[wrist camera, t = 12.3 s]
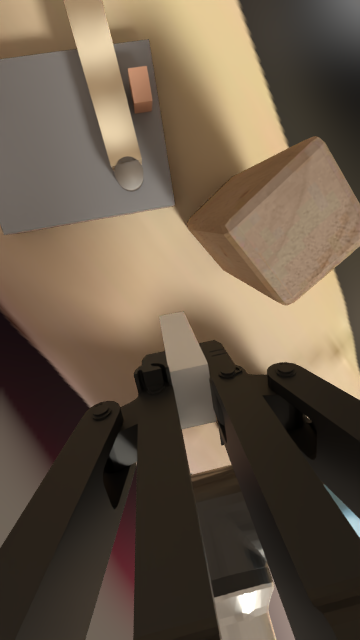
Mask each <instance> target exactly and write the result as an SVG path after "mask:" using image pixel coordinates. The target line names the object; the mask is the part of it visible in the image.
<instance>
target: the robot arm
mask: <svg viewBox="0 0 360 640" xmlns="http://www.w3.org/2000/svg"><path fill="white" fill-rule="evenodd" d="M159 319H160V324H161V330H162V336H163V342H164V347H165V351H164V352H159V353H154V354H149V355H146V356H145V357H144V359H143V360H142V366H140V367H139V368H137V369H136V370H135V372H134V378H135V382H136V385H137V389H138V397H137V398H136V399H135V400H134V401H132V402H131V403H129V404H127V405H124V406H122V407H120V406H119V404H118V403H116V402H114V401H106V402H101V403H99V404H96V405H94V406H93V407H91V408H90V409H88V411H87V412H86V413H85V414H84V415H83V417H82V419H81V420H80V422H79V424H78V425H77V427H76V428H75V430H74V432H73V433H72V434H71V436H70V438H69V439H68V441H67V443H66V444H65V446H64V447H63V449H62V450H61V452H60V454H59V455H58V457H57V459H56V460H55V462H54V463H53V465H52V466H51V468H50V470H49V471H48V473H47V474H46V476H45V478H44V479H43V481H42V482H41V484H40V486H39V487H38V489H37V490H36V492H35V494H34V495H33V497H32V499H31V500H30V502H29V503H28V505H27V506H26V508H25V510H24V511H23V513H22V514H21V516H20V518H19V519H18V521H17V523H16V524H15V526H14V527H13V529H12V530H11V532H10V533H9V535H8V537H7V538H6V540H5V541H4V543H3V545H2V547H1V548H0V640H85V639H86V635H87V631H88V628H89V625H90V621H91V618H92V615H93V611H94V608H95V604H96V601H97V597H98V594H99V591H100V587H101V584H102V581H103V577H104V574H105V571H106V567H107V564H108V560H109V557H110V554H111V550H112V547H113V543H114V540H115V537H116V533H117V530H118V527H119V523H120V520H121V516H122V513H123V509H124V506H125V503H126V499H127V496H128V493H129V489H130V486H131V482H132V479H133V476H134V472H135V469H136V462H137V490H136V492H137V494H136V539H135V540H136V541H135V544H136V545H135V590H134V638H133V640H277V639H276V636H275V633H274V629H273V626H272V622H271V619H270V616H269V612H268V608H269V602H270V599H271V596H272V592H273V589H274V583H273V580H272V577H273V579H274V582H275V585H276V587H277V590H278V593H279V596H280V599H281V601H282V604H283V607H284V609H285V612H286V615H287V618H288V620H289V623H290V626H291V628H292V631H293V634H294V637H295V640H360V400H358V399H357V398H355V397H353V396H351V395H350V394H348V393H346V392H344V391H343V390H341V389H339V388H337V387H336V386H334V385H332V384H330V383H329V382H327V381H325V380H323V379H322V378H320V377H318V376H316V375H315V374H313V373H311V372H309V371H308V370H306V369H304V368H302V367H301V366H299V365H296V364H293V363H287V362H284V363H283V362H282V363H277V364H273V365H272V366H270V367H269V368H268V369H267V375H250V374H247V373H246V371H245V370H244V369H243V368H242V367H240V366H237V365H235V364H234V363H233V361H232V360H231V358H230V356H229V355H228V353H227V352H226V350H225V349H224V347H223V346H222V344H221V343H219V342H217V341H215V340H213V341H208V342H203V343H198V341H197V339H196V337H195V335H194V333H193V330H192V328H191V326H190V324H189V322H188V320H187V317H186V315H185V313H184V311H182V312H177V313H172V314H167V315H162V316H159ZM215 414H216V415H215ZM216 416H217V419H218V425H219V432H220V439H221V445H225V447H226V450H227V453H228V456H229V458H230V461H231V464H232V465H228V466H224V467H221V468H217V469H213V470H209V471H205V472H201V473H197V474H193V475H192V474H190V470H189V465H188V460H187V454H186V449H185V444H184V439H183V434H182V429H185V428H190V427H194V426H199V425H203V424H207V423H212V422H216ZM306 416H307V417H308V418H307V417H306ZM268 566H269V568H270V571H271V574H272V577H271V574H270V571H269V568H268Z"/></svg>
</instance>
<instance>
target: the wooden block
mask: <svg viewBox="0 0 360 640" xmlns="http://www.w3.org/2000/svg"><path fill="white" fill-rule="evenodd" d="M187 226H188V229H189V230H190V231H191V233H192V234H193V235H194V236H195V237H196V238H197V240H198V241H199V242H200V243H201V244H202V246H203V247H204V248H205V249H206V250H207V251H208V253H209V254H210V255H211V256H212V257H213V258H214V260H215V261H216V262H217V263H218V264H219V266H220V267H221V268H222V269H223V270H224V271H226V272H228V273H229V274H231V275H233V276H234V277H236V278H238V279H239V280H241V281H243V282H244V283H246V284H248V285H250V286H251V287H253V288H255V289H256V290H258V291H260V292H261V293H263V294H265V295H267V296H268V297H270V298H272V299H273V300H275V301H277V302H279V303H281V304H283V305H289V304H291V303H294V302H295V301H296V300H298V299H299V298H300V297H301V296H302V295H303V294H305V293H306V292H307V291H308V290H309V289H310V288H312V287H313V286H314V285H315V284H316V283H317V282H319V281H320V280H321V279H322V278H323V277H324V276H326V275H327V274H328V273H329V272H330V271H331V270H333V269H334V268H335V267H336V266H337V265H338V264H340V263H341V262H342V261H343V260H344V259H345V258H346V257H348V256H349V255H350V254H351V253H352V252H353V251H355V250H356V249H357V248H358V247H359V246H360V204H359V202H358V200H357V199H356V197H355V195H354V193H353V191H352V190H351V188H350V186H349V185H348V183H347V181H346V179H345V177H344V175H343V174H342V172H341V170H340V168H339V167H338V165H337V163H336V162H335V160H334V158H333V156H332V154H331V153H330V151H329V149H328V147H327V146H326V144H325V142H324V141H323V140H321V139H320V138H319V137H315V136H314V137H312V138H309V139H306V140H304V141H302V142H300V143H298V144H296V145H294V146H292V147H290V148H288V149H286V150H284V151H282V152H280V153H278V154H276V155H274V156H272V157H270V158H268V159H266V160H265V161H263V162H261V163H259V164H257V165H255V166H253V167H251V168H249V169H247V170H245V171H243V172H241V173H239V174H237V175H235V176H233V177H232V178H231V179H230V180H229V181H228V182H226V183H225V184H224V185H223V186H222V187H221V188H220V189H219V190H218V191H217V192H216V193H215V194H214V195H213V196H212V197H211V198H210V199H209V200H208V201H207V202H206V203H205V204H204V205H203V206H202V207H201V208H200V209H199V210H198V211H197V212H196V213H195V214H194V215H193V216H192V217H191V218H190V219H189V221H188V223H187Z"/></svg>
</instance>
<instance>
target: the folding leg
mask: <svg viewBox="0 0 360 640" xmlns="http://www.w3.org/2000/svg"><path fill="white" fill-rule="evenodd" d="M63 1H64V5H65V8H66V12H67V15H68V18H69V22H70V25H71V29H72V32H73V36H74V39H75V43H76V46H77V50H78V53H79V57H80V60H81V64H82V67H83V71H84V74H85V78H86V81H87V85H88V88H89V92H90V95H91V99H92V102H93V105H94V109H95V112H96V116H97V119H98V123H99V126H100V130H101V133H102V137H103V140H104V144H105V147H106V151H107V154H108V158H109V161H110V165H111V167H112V169H113V171H114V172H115V177H116V179H117V181H118V183H119V184H120V186H121V187H122V188H123V189H124V190H126V191H130V192H133V191H136V190H138V189H139V188H140V187H141V186H142V184H143V174H144V173H143V168H142V158H141V154H140V150H139V146H138V142H137V138H136V134H135V130H134V126H133V122H132V118H131V114H130V110H129V106H128V102H127V98H126V94H125V90H124V86H123V82H122V78H121V74H120V70H119V66H118V62H117V58H116V54H115V50H114V46H113V42H112V38H111V34H110V30H109V26H108V22H107V18H106V14H105V10H104V5H103V1H102V0H63Z"/></svg>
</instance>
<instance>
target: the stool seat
mask: <svg viewBox="0 0 360 640" xmlns="http://www.w3.org/2000/svg"><path fill="white" fill-rule="evenodd" d="M113 46H114V50H115V54H116V58H117V62H118V66H119V70H120V74H121V78H122V82H123V86H124V90H125V94H126V98H127V102H128V106H129V110H130V114H131V118H132V122H133V126H134V130H135V134H136V138H137V142H138V146H139V150H140V154H141V158H142V168H143V173H144V174H143V184H142V186H141V187H140V188H139V189H138V190H136V191H133V192H130V191H126V190H124V189H123V188H122V187H121V186H120V184H119V183H118V181H117V179H116V177H115V172H114V171H113V169H112V167H111V165H110V161H109V158H108V154H107V151H106V147H105V144H104V140H103V137H102V133H101V130H100V126H99V123H98V119H97V116H96V112H95V109H94V105H93V102H92V99H91V95H90V92H89V88H88V85H87V81H86V78H85V74H84V71H83V67H82V64H81V60H80V57H79V53H78V50H77V49H73V50H65V51H58V52H50V53H43V54H35V55H28V56H20V57H13V58H5V59H0V225H1V228H2V230H3V233H4V235H8V234H17V233H23V232H29V231H34V230H40V229H46V228H52V227H57V226H63V225H69V224H75V223H80V222H86V221H92V220H98V219H104V218H109V217H115V216H121V215H127V214H132V213H138V212H144V211H150V210H155V209H161V208H167V207H173V206H175V201H174V195H173V189H172V182H171V176H170V170H169V163H168V157H167V151H166V144H165V138H164V132H163V125H162V119H161V113H160V106H159V100H158V94H157V87H156V81H155V75H154V68H153V62H152V56H151V49H150V43H149V39H147V40H140V41H132V42H125V43H118V44H113Z"/></svg>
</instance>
